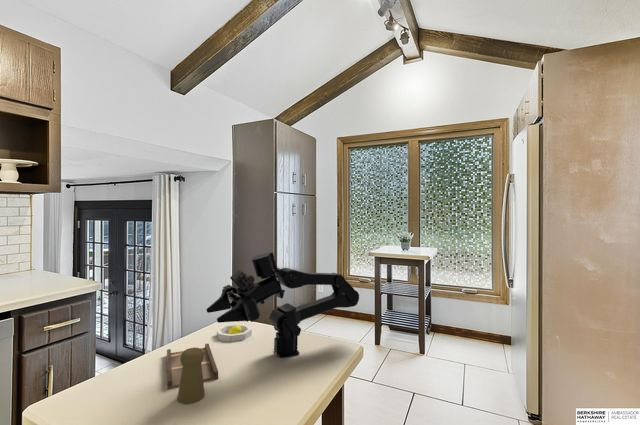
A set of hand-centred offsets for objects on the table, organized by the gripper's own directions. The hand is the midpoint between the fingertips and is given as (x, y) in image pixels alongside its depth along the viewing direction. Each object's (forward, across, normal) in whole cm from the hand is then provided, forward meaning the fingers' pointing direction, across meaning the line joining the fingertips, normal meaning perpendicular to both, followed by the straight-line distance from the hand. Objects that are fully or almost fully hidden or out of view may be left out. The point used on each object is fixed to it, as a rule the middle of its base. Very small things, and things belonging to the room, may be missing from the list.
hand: (211, 315), depth 86 cm
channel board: (+8, -6, +14) cm, 17 cm away
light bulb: (-9, -22, +20) cm, 32 cm away
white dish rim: (-9, -22, +20) cm, 32 cm away
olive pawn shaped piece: (+12, +10, +12) cm, 20 cm away
